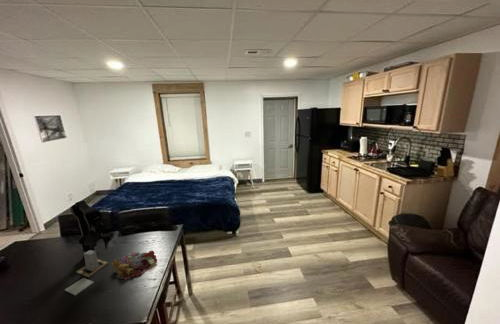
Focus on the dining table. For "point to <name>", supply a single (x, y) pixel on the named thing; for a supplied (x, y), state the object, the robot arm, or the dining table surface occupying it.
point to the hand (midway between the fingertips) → (98, 249)
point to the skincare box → (91, 260)
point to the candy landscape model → (134, 264)
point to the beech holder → (92, 271)
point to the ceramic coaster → (79, 286)
